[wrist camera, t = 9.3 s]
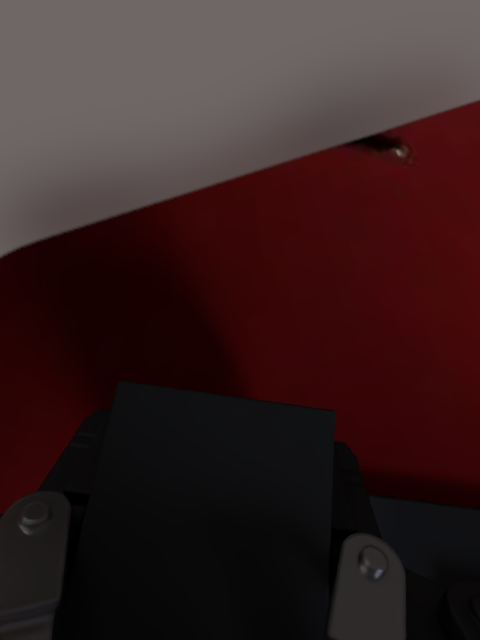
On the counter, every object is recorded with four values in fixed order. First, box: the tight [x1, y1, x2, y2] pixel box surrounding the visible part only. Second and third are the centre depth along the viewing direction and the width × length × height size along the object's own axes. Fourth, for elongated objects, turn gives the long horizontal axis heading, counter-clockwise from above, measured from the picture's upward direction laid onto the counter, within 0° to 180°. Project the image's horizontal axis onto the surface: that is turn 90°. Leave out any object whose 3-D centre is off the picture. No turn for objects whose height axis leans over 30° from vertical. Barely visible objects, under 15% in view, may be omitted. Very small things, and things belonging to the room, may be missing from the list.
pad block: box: [62, 381, 335, 640], centre depth 11 cm, size 5×5×8 cm
